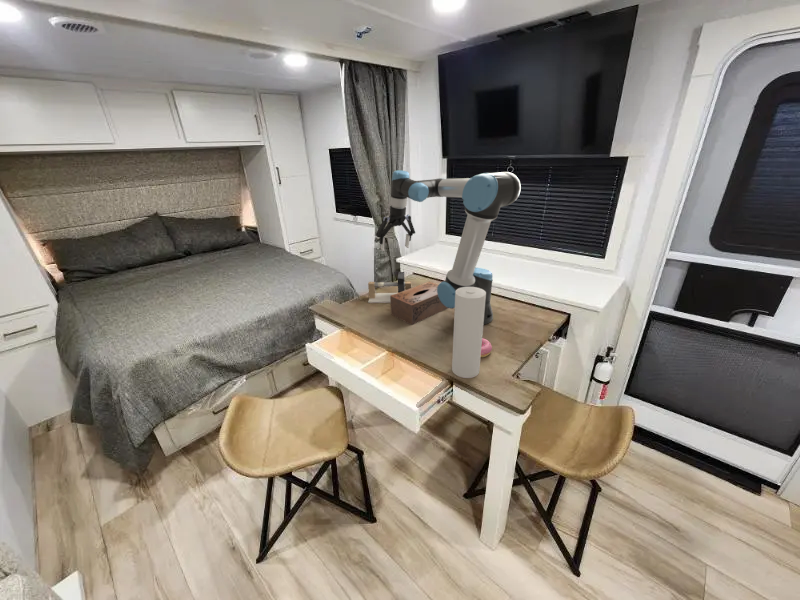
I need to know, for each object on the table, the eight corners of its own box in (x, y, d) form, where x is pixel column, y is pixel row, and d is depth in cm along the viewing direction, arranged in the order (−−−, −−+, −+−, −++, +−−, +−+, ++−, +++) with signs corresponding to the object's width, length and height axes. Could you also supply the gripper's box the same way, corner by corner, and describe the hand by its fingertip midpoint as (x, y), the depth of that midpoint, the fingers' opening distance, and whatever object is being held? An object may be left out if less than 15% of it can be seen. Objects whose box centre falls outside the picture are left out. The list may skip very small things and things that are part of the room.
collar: (404, 297, 167) (403, 278, 163) (398, 297, 167) (397, 278, 163) (404, 289, 176) (404, 271, 172) (399, 289, 177) (398, 271, 172)
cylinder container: (462, 381, 110) (468, 299, 97) (446, 366, 117) (449, 288, 105) (484, 372, 113) (492, 292, 101) (467, 359, 121) (472, 283, 109)
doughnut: (497, 350, 126) (498, 341, 124) (481, 363, 119) (482, 353, 117) (472, 340, 133) (473, 331, 131) (456, 351, 126) (457, 342, 124)
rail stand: (411, 302, 168) (410, 286, 164) (368, 302, 169) (367, 286, 165) (411, 294, 178) (411, 278, 174) (370, 294, 179) (369, 278, 175)
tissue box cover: (412, 325, 146) (411, 305, 142) (391, 315, 156) (390, 295, 152) (450, 307, 162) (450, 289, 158) (428, 299, 172) (429, 281, 168)
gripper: (417, 202, 161) (413, 242, 172) (370, 205, 150) (368, 248, 162) (425, 207, 155) (420, 248, 166) (376, 210, 145) (374, 254, 156)
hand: (394, 248), depth 164 cm, fingers open, 13 cm apart
